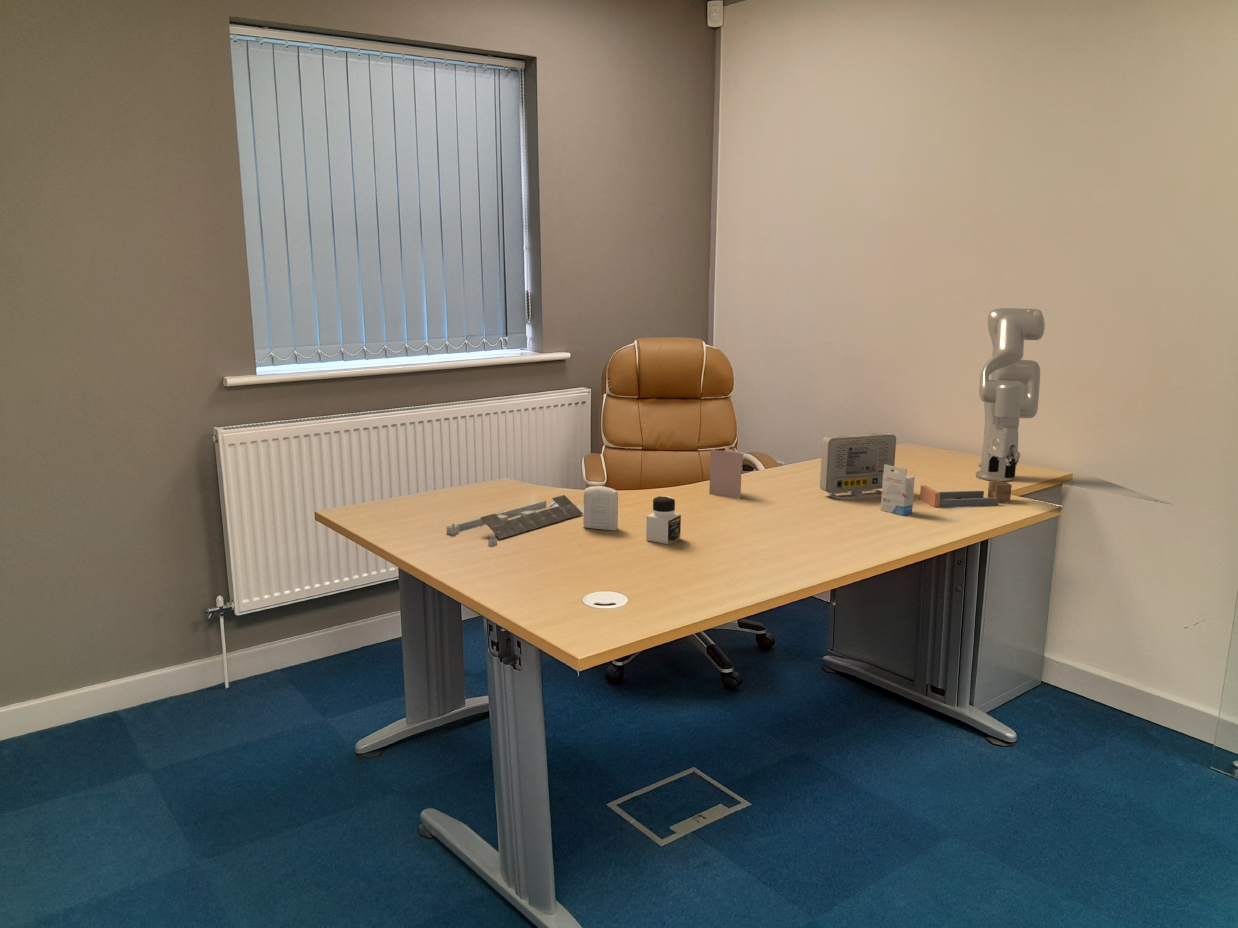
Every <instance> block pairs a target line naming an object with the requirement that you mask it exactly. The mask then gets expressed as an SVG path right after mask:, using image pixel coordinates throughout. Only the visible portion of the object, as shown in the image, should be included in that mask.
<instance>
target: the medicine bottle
mask: <svg viewBox="0 0 1238 928" xmlns="http://www.w3.org/2000/svg"><path fill="white" fill-rule="evenodd" d="M675 509H676V499H675V498H673V497H671V496H668V495H667V496H666V495H660V496H656V497H654V498H653V499H652V513H650V514H648V515H647V516H646V528H645V529H646V530H645V531H646V533H645V535H646V537H645V539H646V541H648V542H654V543H658V544H659V543H660V544H664V545H670V544H672V543H673V542H676V541H677V540H679V539H680V538H681V527H682V526H681V525H682V524H681V523H682V521H681V520H682V518H681V517H682V514H681V513H677V512H675V511H676V510H675Z"/></svg>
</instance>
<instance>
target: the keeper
mask: <svg viewBox="0 0 1238 928" xmlns="http://www.w3.org/2000/svg"><path fill="white" fill-rule="evenodd" d="M1011 494H1012V484H1011V483H1009V482H1008V481H992V480H988V488H987V496H986V498H999V503H998V504H1004V503H1005V504H1006V502H1010V503H1011V496H1012V495H1011Z"/></svg>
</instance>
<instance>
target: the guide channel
mask: <svg viewBox="0 0 1238 928" xmlns="http://www.w3.org/2000/svg"><path fill="white" fill-rule="evenodd" d="M919 491H920V493H919V500H921V501H923V502H924V503H926V504H928V505H930V506H932V507H933V508H946V507H947V508H948V507H949V508H950V507H980V506H999V504H1000V503H999V498H987V497H984V495H985V491H984V490H960V491H958V490H955V491H953V490H952V491H937V490H935V489H933V488H931V487H929V486H927V485H920V490H919ZM955 498H962V499H955ZM968 505H969V506H968Z"/></svg>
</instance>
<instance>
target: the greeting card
mask: <svg viewBox="0 0 1238 928" xmlns="http://www.w3.org/2000/svg"><path fill="white" fill-rule="evenodd" d="M709 455H710V456H709V457H710V458H709V459H710V460H709V461H710V463H709V464H710V465H709V491H708V492H709V493H708V494H709V495H715V496H720V497H725V498H726V497H727V498H734V499H741V495H742V493H741V492H742V467H743V453H741V452H739V451H736V450H733V449H731V448H728V447H726V446H725V447H724V451H723V450H717V449H716V450H715V449H710V454H709Z"/></svg>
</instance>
